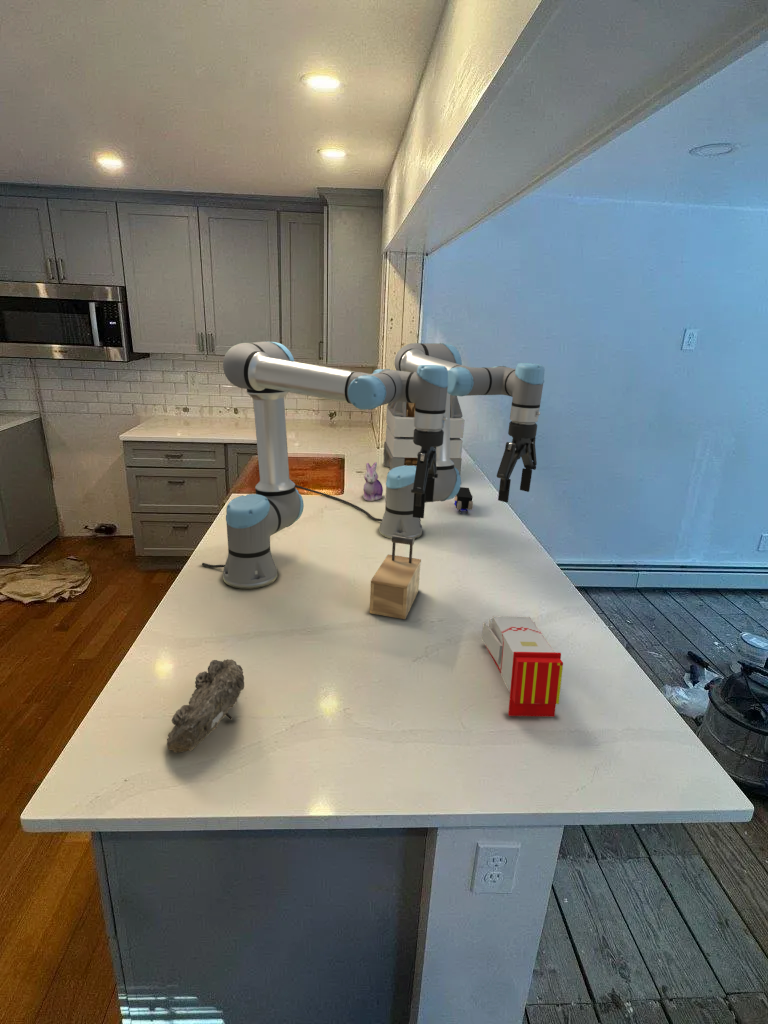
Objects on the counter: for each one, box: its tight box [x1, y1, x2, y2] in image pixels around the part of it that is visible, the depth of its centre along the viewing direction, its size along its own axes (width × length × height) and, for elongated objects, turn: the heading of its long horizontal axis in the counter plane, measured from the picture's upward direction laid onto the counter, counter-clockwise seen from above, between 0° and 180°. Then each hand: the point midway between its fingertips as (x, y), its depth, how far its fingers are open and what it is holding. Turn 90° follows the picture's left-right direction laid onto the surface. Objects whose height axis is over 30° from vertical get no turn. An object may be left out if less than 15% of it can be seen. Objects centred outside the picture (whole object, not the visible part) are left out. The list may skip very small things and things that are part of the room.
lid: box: [370, 534, 422, 589], centre depth 150 cm, size 17×10×8 cm, turn 165°
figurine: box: [362, 461, 384, 502], centre depth 233 cm, size 9×10×15 cm
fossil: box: [166, 658, 245, 754], centre depth 106 cm, size 22×10×15 cm
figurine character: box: [453, 486, 474, 514], centre depth 226 cm, size 7×8×15 cm
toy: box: [481, 615, 564, 718], centre depth 123 cm, size 12×13×30 cm
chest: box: [369, 564, 421, 620], centre depth 152 cm, size 16×10×9 cm, turn 165°
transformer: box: [383, 395, 465, 476], centre depth 268 cm, size 34×33×41 cm
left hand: (423, 509), depth 149 cm, fingers open, 13 cm apart
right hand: (514, 495), depth 162 cm, fingers open, 13 cm apart
